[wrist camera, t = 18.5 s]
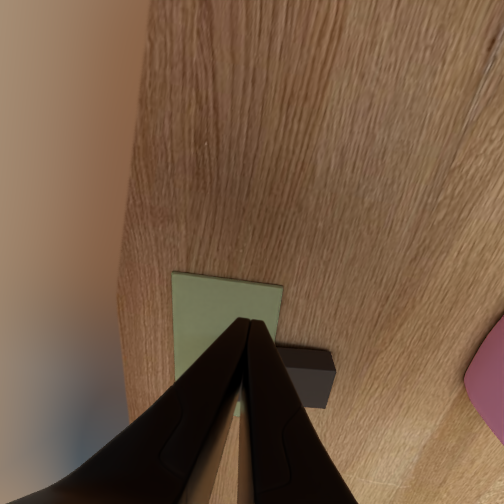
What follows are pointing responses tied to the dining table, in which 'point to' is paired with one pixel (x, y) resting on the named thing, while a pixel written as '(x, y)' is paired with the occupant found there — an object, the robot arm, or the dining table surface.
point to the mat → (216, 312)
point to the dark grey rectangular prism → (309, 374)
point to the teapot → (489, 380)
